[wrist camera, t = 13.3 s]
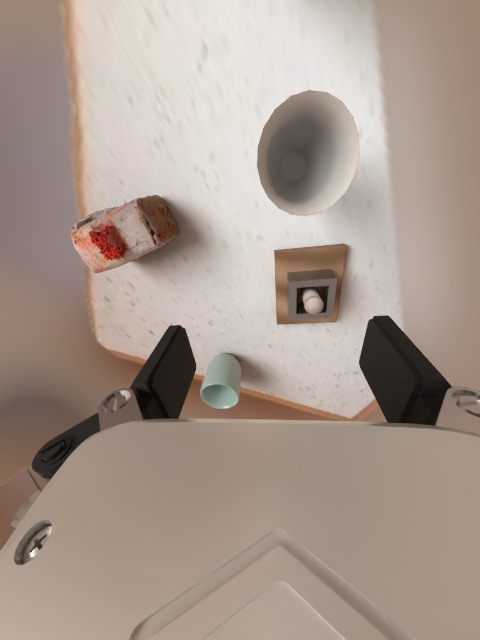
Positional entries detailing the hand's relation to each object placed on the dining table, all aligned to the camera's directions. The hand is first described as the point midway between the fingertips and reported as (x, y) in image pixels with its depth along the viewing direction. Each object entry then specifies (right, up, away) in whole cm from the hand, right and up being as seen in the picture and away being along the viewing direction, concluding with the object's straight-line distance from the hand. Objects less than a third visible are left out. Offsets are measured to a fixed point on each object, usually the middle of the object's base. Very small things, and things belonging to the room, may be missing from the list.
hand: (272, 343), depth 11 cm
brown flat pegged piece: (+10, +7, +28) cm, 31 cm away
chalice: (+5, +22, +19) cm, 30 cm away
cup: (-5, -9, +40) cm, 41 cm away
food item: (-19, +17, +25) cm, 36 cm away
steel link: (+10, +6, +27) cm, 29 cm away
